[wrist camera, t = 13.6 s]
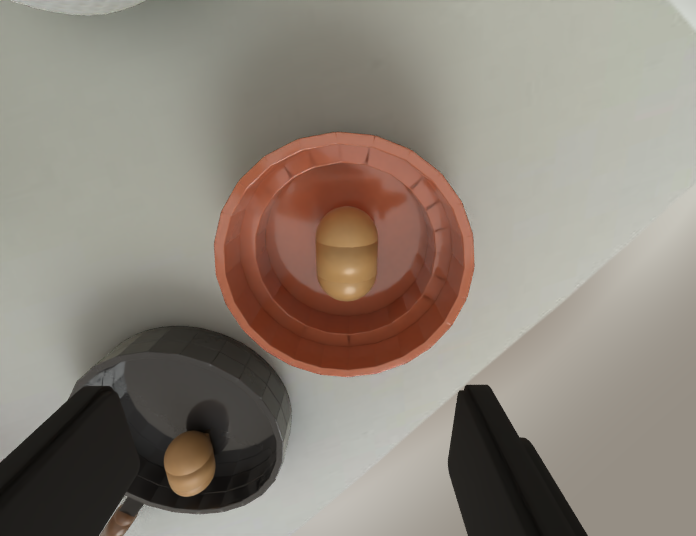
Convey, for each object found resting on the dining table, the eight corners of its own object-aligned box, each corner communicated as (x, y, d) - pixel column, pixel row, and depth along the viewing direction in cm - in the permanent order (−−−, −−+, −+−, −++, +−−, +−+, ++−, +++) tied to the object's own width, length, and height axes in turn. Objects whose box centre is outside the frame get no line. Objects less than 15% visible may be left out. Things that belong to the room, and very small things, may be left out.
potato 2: (318, 201, 23) (310, 213, 19) (377, 201, 23) (381, 213, 19) (320, 286, 26) (314, 312, 22) (374, 286, 25) (377, 313, 22)
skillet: (58, 368, 30) (18, 398, 26) (225, 294, 27) (205, 317, 23) (175, 494, 36) (155, 532, 32) (324, 445, 32) (320, 482, 29)
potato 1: (174, 420, 31) (149, 458, 27) (216, 421, 31) (196, 459, 27) (185, 465, 33) (164, 506, 29) (224, 466, 33) (207, 507, 29)
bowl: (207, 193, 24) (161, 208, 18) (402, 93, 21) (419, 75, 16) (304, 353, 29) (291, 404, 23) (473, 288, 26) (505, 328, 20)
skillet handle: (138, 476, 32) (124, 497, 30) (157, 485, 32) (145, 506, 30) (104, 528, 35) (90, 549, 33) (122, 535, 35) (108, 557, 33)
